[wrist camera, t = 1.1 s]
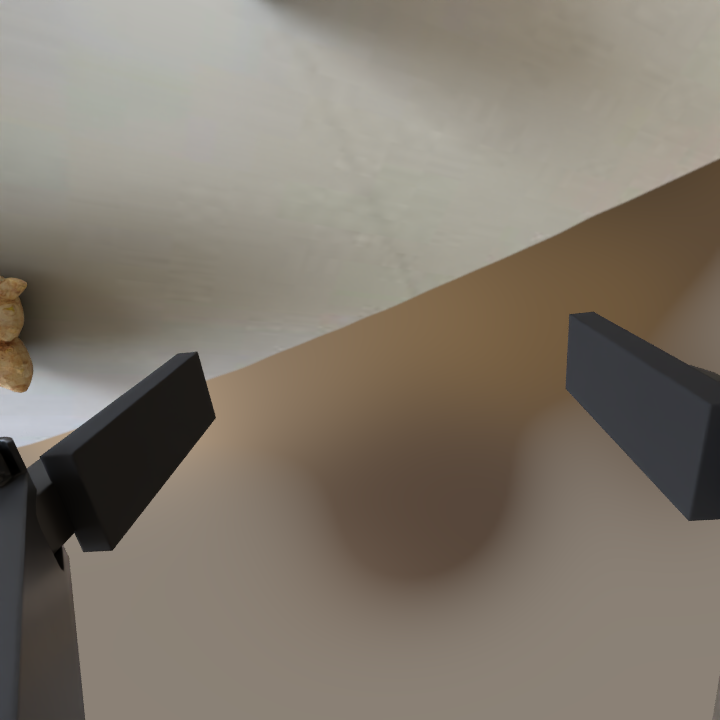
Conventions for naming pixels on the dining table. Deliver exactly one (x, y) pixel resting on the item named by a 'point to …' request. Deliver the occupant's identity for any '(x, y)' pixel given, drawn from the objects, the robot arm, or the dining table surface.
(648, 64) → the dining table surface
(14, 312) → the ginger root
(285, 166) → the dining table surface
